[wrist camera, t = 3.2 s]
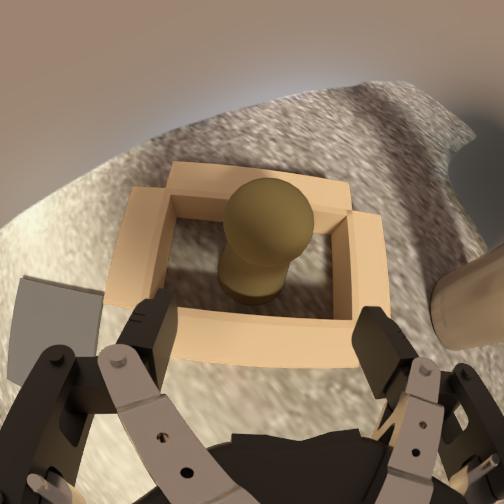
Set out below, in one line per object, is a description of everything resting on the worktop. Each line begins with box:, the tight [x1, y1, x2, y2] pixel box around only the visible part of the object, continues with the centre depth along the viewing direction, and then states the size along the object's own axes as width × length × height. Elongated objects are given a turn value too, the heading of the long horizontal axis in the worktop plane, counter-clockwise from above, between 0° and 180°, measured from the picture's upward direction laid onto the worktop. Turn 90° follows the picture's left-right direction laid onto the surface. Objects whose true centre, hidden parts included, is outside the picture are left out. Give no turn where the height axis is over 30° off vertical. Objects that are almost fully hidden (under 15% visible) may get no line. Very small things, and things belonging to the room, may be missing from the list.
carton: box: [103, 161, 391, 368], centre depth 22 cm, size 22×16×4 cm
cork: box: [218, 178, 314, 305], centre depth 19 cm, size 6×6×11 cm
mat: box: [7, 278, 104, 387], centre depth 19 cm, size 11×11×1 cm
